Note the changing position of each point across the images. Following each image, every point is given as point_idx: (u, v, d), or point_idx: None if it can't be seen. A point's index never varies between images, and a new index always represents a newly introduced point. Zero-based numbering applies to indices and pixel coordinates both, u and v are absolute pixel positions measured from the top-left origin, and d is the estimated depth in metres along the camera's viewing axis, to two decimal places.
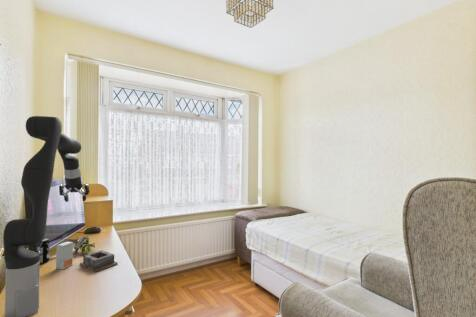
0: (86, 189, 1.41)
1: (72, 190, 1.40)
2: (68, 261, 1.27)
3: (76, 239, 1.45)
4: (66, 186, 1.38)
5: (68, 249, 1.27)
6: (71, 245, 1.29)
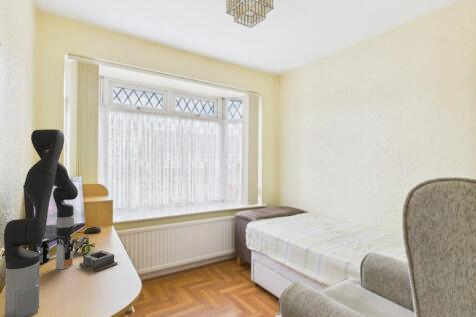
0: (67, 245, 1.23)
1: None
2: (68, 261, 1.27)
3: (76, 239, 1.45)
4: (59, 236, 1.28)
5: None
6: None
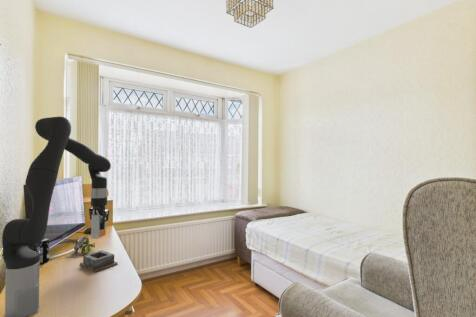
0: (103, 215, 1.27)
1: (96, 213, 1.29)
2: (102, 232, 1.30)
3: (76, 239, 1.45)
4: (93, 208, 1.31)
5: None
6: None
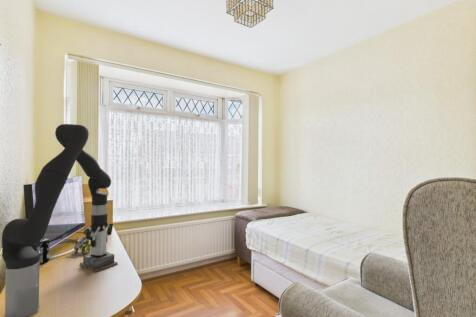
0: (111, 228, 1.34)
1: (99, 229, 1.29)
2: None
3: (76, 239, 1.45)
4: (93, 226, 1.27)
5: None
6: None
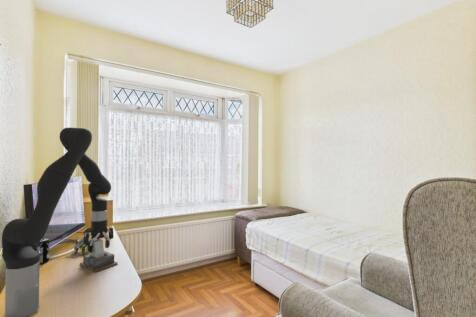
0: (112, 232, 1.35)
1: (99, 236, 1.29)
2: None
3: (76, 239, 1.45)
4: (93, 232, 1.27)
5: None
6: None
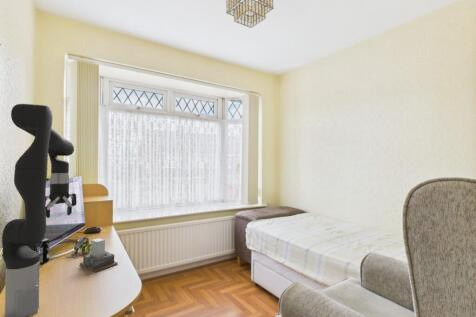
0: (75, 198, 1.24)
1: (58, 201, 1.18)
2: None
3: (76, 239, 1.45)
4: (52, 196, 1.16)
5: None
6: None
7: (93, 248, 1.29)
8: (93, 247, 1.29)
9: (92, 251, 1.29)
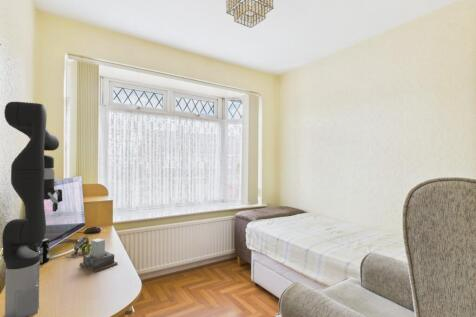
0: (60, 194, 1.21)
1: None
2: None
3: (76, 239, 1.45)
4: None
5: None
6: None
7: (93, 248, 1.29)
8: (93, 247, 1.29)
9: (92, 251, 1.29)
